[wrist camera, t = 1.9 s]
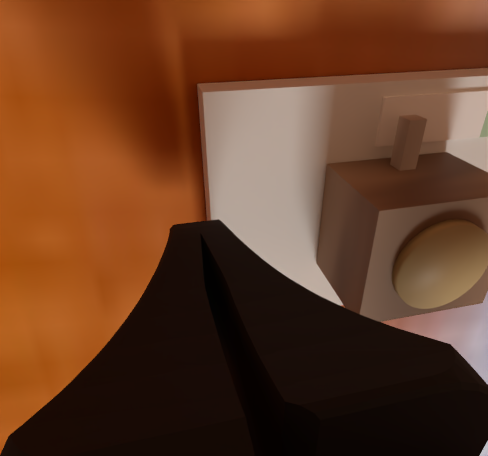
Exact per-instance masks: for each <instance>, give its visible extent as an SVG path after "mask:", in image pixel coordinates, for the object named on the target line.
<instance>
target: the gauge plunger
mask: <svg viewBox="0 0 488 456" xmlns="http://www.w3.org/2000/svg"><path fill="white" fill-rule="evenodd" d="M426 122H427V119H425V118H423V117H421V116H418V115H403V116H399V121H398V126H397V131H396V136H395V141H394V146H393V151H392V156H391V158H380V159H370V160H360V161H350V162H340V163H330V164H327V166H326V175H325V185H324V194H323V204H322V214H321V223H320V233H319V242H318V252H317V262H316V264H317V265H318V267H319V268H320V270H321V271H322V273H323V274H324V276H325V277H326V279H327V280H328V282H329V283H330V285H331V286H332V288H333V289H334V291H335V293H336V294H337V296H338V297H339V299H340V300H341V302H342V303H343V305H344V306H345V308H346V309H348V310H351V311H353V312H356V313H358V314H360V315H363V316H365V317H368V318H370V319H373V320H376V321H378V322H381V321H387V320H392V319H398V318H403V317H409V316H414V315H420V314H425V313H430V312H436V311H441V310H447V309H452V308H458V307H463V306H469V305H474V304H479V303H483V300H484V298H485V295H486V293H487V291H488V172H486V171H484V170H482V169H480V168H478V167H476V166H474V165H472V164H470V163H468V162H466V161H464V160H462V159H460V158H458V157H456V156H454V155H452V154H450V153H448V152H441V153H431V154H421V155H419V152H420V148H421V144H422V139H423V135H424V131H425V127H426Z"/></svg>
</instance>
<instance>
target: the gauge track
mask: <svg viewBox="0 0 488 456" xmlns="http://www.w3.org/2000/svg"><path fill="white" fill-rule="evenodd" d="M197 90H198V104H199V118H200V132H201V146H202V159H203V173H204V187H205V201H206V215H207V221H209V220H218V219H219V220H220V221H222V222H223V223H224V224H225V225H226V226H227V227H228V228H229V229H230V230H231V231H232V232H233V233H234V234H235V235H236V236H237V237H238V238H239V239H240V240H241V241H242V242H243V243H244V244H246V245H247V246H248V247H249V248H250V249H251V250H252V251H254V252H255V253H256V254H257V255H258V256H259V257H261V258H262V259H263V260H264V261H266V262H267V263H268V264H269V265H271V266H272V267H274V268H275V269H276V270H278V271H279V272H281V273H282V274H284V275H285V276H287V277H288V278H290V279H291V280H293V281H295V282H296V283H298V284H300V285H301V286H303V287H305V288H306V289H308V290H310V291H312V292H314V293H315V294H317V295H319V296H321V297H323V298H325V299H327V300H329V301H331V302H333V303H336V304H338V305H343V303H342V302H341V300H340V299H339V297H338V296H337V294H336V293H335V291H334V289H333V288H332V286H331V285H330V283H329V282H328V280H327V279H326V277H325V276H324V274H323V273H322V271H321V270H320V268H319V267H318V265H317V264H316V262H317V252H318V242H319V233H320V223H321V214H322V204H323V194H324V185H325V175H326V166H327V164H330V163H340V162H350V161H360V160H370V159H380V158H391V156H392V151H393V146H394V141H395V136H396V131H397V126H398V121H399V116H403V115H418V116H421V117H423V118H425V119H427V122H426V127H425V131H424V135H423V139H422V144H421V148H420V152H419V155H421V154H431V153H441V152H448V153H450V154H452V155H454V156H456V157H458V158H460V159H462V160H464V161H466V162H468V163H470V164H472V165H474V166H476V167H478V168H480V169H482V170H484V171H486V172H488V68H475V69H457V70H439V71H420V72H402V73H383V74H365V75H347V76H328V77H310V78H292V79H273V80H255V81H237V82H218V83H200V84H197Z"/></svg>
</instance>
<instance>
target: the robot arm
mask: <svg viewBox="0 0 488 456" xmlns="http://www.w3.org/2000/svg"><path fill="white" fill-rule="evenodd" d="M487 441H488V385H487V384H486V382H485V381H484V380H483V379H482V378H481V377H480V376H479V375H478V373H477V372H476V371H475V370H474V369H473V368H472V367H471V365H470V364H469V363H468V362H467V361H466V360H465V359H464V358H463V357H462V356H461V355H460V354H459V353H458V352H457V351H456V350H455V349H454V348H453V347H452V346H451V344H447V343H444V342H441V341H437V340H434V339H431V338H427V337H424V336H421V335H418V334H414V333H411V332H408V331H404V330H401V329H398V328H395V327H392V326H389V325H386V324H384V323H381V322H378V321H376V320H373V319H370V318H368V317H365V316H363V315H360V314H358V313H356V312H353V311H351V310H348V309H346V308H344V307H342V306H340V305H338V304H336V303H333V302H331V301H329V300H327V299H325V298H323V297H321V296H319V295H317V294H315V293H314V292H312V291H310V290H308V289H306V288H305V287H303V286H301V285H300V284H298V283H296V282H295V281H293V280H291V279H290V278H288V277H287V276H285V275H284V274H282V273H281V272H279V271H278V270H276V269H275V268H274V267H272V266H271V265H269V264H268V263H267V262H266V261H264V260H263V259H262V258H261V257H259V256H258V255H257V254H256V253H255V252H254V251H252V250H251V249H250V248H249V247H248V246H247V245H246V244H244V243H243V242H242V241H241V240H240V239H239V238H238V237H237V236H236V235H235V234H234V233H233V232H232V231H231V230H230V229H229V228H228V227H227V226H226V225H225V224H224V223H223V222H222V221H220V220H219V219H218V220H209V221H201V222H193V223H184V224H176V225H173V226H172V227H171V228H170V233H169V238H168V242H167V245H166V247H165V250H164V253H163V255H162V258H161V260H160V262H159V265H158V267H157V269H156V271H155V273H154V275H153V277H152V279H151V281H150V282H149V284H148V286H147V288H146V290H145V292H144V293H143V295H142V297H141V298H140V300H139V301H138V303H137V304H136V306H135V307H134V309H133V310H132V312H131V313H130V315H129V316H128V318H127V319H126V320H125V322H124V323H123V324H122V325H121V327H120V328H119V329H118V331H117V332H116V333H115V334H114V336H113V337H112V338H111V339H110V341H109V342H108V343H107V344H106V345H105V347H104V348H103V349H102V350H101V351H100V352H99V353H98V355H97V356H96V357H95V358H94V359H93V360H92V361H91V362H90V363H89V364H88V365H87V366H86V367H85V368H84V369H83V370H82V371H81V372H80V373H79V374H78V375H77V376H76V377H75V378H74V379H73V380H72V382H71V383H69V384H68V385H67V386H66V387H65V388H64V389H63V390H62V391H61V392H60V393H59V394H58V395H57V396H55V397H54V398H53V399H52V400H51V401H50V402H48V403H47V404H46V405H45V406H44V407H43V408H41V409H40V410H39V411H38V412H37V413H36V414H35V415H33V416H32V417H31V418H30V419H29V420H28V421H26V422H25V423H24V424H23V425H22V426H21V427H19V428H18V429H17V430H16V431H14V432H13V433H12V434H11V435H10V436H9V437H8V439H7V441H6V443H5V446H4V448H3V450H2V452H1V454H0V456H479V455H480V453H481V452H482V450H483V448H484V446H485V444H486V442H487Z"/></svg>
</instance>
